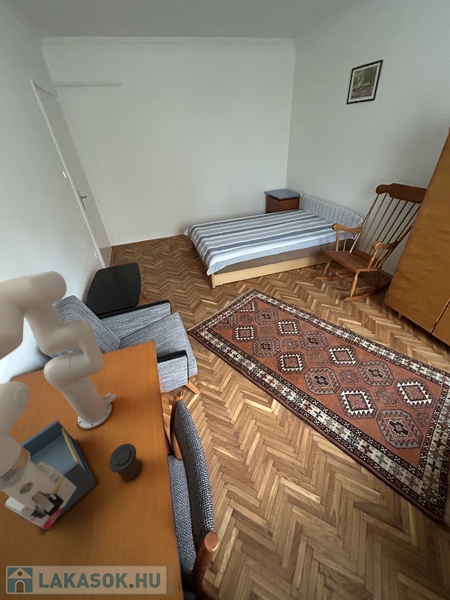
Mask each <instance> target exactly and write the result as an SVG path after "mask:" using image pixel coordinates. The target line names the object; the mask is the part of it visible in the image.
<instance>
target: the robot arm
mask: <svg viewBox="0 0 450 600" xmlns="http://www.w3.org/2000/svg"><path fill="white" fill-rule="evenodd" d="M67 289H68V287H67V282H66V280H65V278H64V276H62V275H61V274H60V272H57V271H54V270H48V271H43V272H39V273H34V274H29V275H24V276H18V277H13V278H9V279H6V280H3V281H1V282H0V361H1V360H3V359H4V358H6V357H7V356H8V355H10V354H12V352H14V351H16V350H17V349H18V348H19V347H20V346H21V345H22V343H23V342H24V341H23V340H24V325H25V322H24V321H25V320H26V322H27V324H28V325H29V328H30V330H31V333H32V335H33V337H34V339H35V341H36V344H37V346H38V348H39V350H40V352H41V353H43V354H44V355H46V356H53V355H57V354H61V353H64V354H61V355H59V356H56V357H53V358H52V359H50V360H49V361H47V362H46V364H45V365H44V368H43V376H44V378H45V380H46V381H47V382H48V383H49V384H50V385H51V386H53V387H54V388H55V389H57V390H58V391H59V392H60V393H61V394H62V396H63V397H64V398H65V400H66V401H67V402H68V404H69V405H70V406H71V408H72V409H73V410H74V411H75V413H76V414H77V424H78V426H79V427H80V428H81V429H84V430H90V429H94V428H96V427H98V426H100V425H101V424H103V423H104V422H105V421H106V420H107V419H108V418H109V416H110V414H111V412H112V409H113V406H112V402H114V401H115V400H116V399H118V396H117V394H116V393H114V394H112V393H111V392H109V393H108V394H106V395H104V396H103V395H102V394H101V392H100V391H99V389H98V388H97V387H96V385H95V383H94V381H93V380H92V378H91V377H90V376H94V375H96V374H99V373H100V372H102V371H103V370H104V368H105V359H104V356H103V353H102V350H101V348H100V345H99V343H98V339H97V337H96V334H95V331H94V329H93V327H92V325H91V323H90V322H89V321H88V320H87V319H84V318H77V319H72V320H69V321H64V320H63V319H62V316H61V315H60V312H59V309H58V308H57V307H56V306H55V305H54V304H56V303H57V302H59V301H60V300H61V299H63V298H64V297H65V296H66V294H67ZM76 349H78V350H76ZM72 350H75V351H72ZM68 351H72V352H68ZM65 352H68V353H65ZM29 400H30V390H29V387H28V386H27V385H26V384H25V383H24V382H21V381H15V380H14V381H7V382H3V383H0V492H2V493H5V494H6V495H7V496H8V497H12V498H13V499H15V500H16V501H18V502H19V503H21V504H23V505H24V506H26V507H28V508H30V509H32V510H33V509H37V507H39V508H40V509H41V511H43V512H44V513H46V514H47V515H49V516H52V515H53V514H54V513H55V512H56V511H57V510H58V509H59V508H60V506H61V505H62V504H63V502H64V500H63V499H62V498H60V497H59V496H58V495H57V494H52V492H53V490H54V489H55V487H56V485H55V484H54V482H53V481H52V480H51V479H50V478H49V477H48V476H47V475H46V474H45V473H44V472H43V471H42V470H41V469H40V468H39V467H38V466H37V465H36V464H35V463H34V462H32V461H31V460H30V453H29V451H28V450H26V449H25V448H24V447H23V446H22V445H21V444H22V443H19V442H18V440H16V439H15V438H14V437H13V436H11V435H10V432H11V431H12V429H13V427H14V426H15V425H16V423H17V422H18V420H20V417H21V416H22V415H23V413H24V411H25V410H26V408H27V406H28V403H29ZM47 495H49V496H50V498H49V499H47V498H46V496H47Z"/></svg>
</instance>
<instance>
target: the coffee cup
mask: <svg viewBox="0 0 450 600" xmlns="http://www.w3.org/2000/svg"><path fill="white" fill-rule="evenodd" d="M140 467H141V466H140V463H139V460H138V456H137V448H136V447H135V446H134V444H132V443H123V444H120V445H119V446H117V447H116V448H115V449H114V450H113V451H112V453H111V455H110V457H109V461H108V468H109V469H110V471H111V472H113V473H116V474H118V475H119V476H121V477H122V478H123V479H124V480H130V481H131V480H132V479H134V478H136V477H137V476H138V474H139V472H140Z"/></svg>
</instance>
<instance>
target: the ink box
mask: <svg viewBox="0 0 450 600" xmlns="http://www.w3.org/2000/svg"><path fill="white" fill-rule="evenodd" d="M37 466H38V467H39V468H40V469H41V470H42V471H43V472H44V473H45V474H46V475H47V476H48V477H49V478H50V479H51V480H52V481H53V482H54V484H55V485H56V487H55V489H54V490H53V492H52V494H57V495H58V496H59V497H60V498H62V499H63V500H64V502H63V504H62V505H61V506H60V508H59V509H58V510H57V511H56V512H55V513H54V514H53V515H52V516H49V515H47V514H46V513H44V512H43V511H41V509H40V508H39V507H37V509H33V510H32V509H30V508H28V507H26V506H24V505H23V504H21V503H19V502H18V501H16V500H15V499H13V498H12V497H10V496H8V499H7V500H6V501H5V503H4V506H5V507H6V508H7V509H9V510H11V511H12V512H14V513H15V512H16V513H17V514H19V515H20V516H22V517H24V518H25V519H27V520H29V521H30V522H32V523H33V524H32V523H31V524H32V525H34V524H35V525H37V526H39V527H41V528H44V529H45V530H46V531H47V530H48V531H50V529H51V527H52V526H53V525H54V523H55V521H57V519H56V518H57V517H58V515H59V514H60V512H61V511H62V509H63V508H64V506H65V505H66V503H67V502H68V500H69V499H70V497H71V496H72V494H73V492H74V491H75V489H76V486H74V485H73V484H72V483H71V482H70V481H69V480H68V479H67V478H65V477H64V476H63V475H62V474H61V473H60V472H58V471H57V470H56V469H55V468H54V467H52V466H51V465H49V464H47V463H44V462H42V461H41V462H40V463H39V464H38V465H37ZM46 498H47V499H49V498H50V496H49V495H47V496H46ZM16 513H15V514H16ZM17 514H16V515H17ZM19 515H18V516H19ZM20 516H19V517H20ZM22 517H21V518H22ZM24 518H23V519H24ZM25 519H24V520H25ZM27 520H26V521H27ZM29 521H28V522H29ZM30 522H29V523H30ZM35 525H34V526H35ZM37 526H36V527H37ZM39 527H38V528H39Z"/></svg>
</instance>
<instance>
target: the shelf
mask: <svg viewBox="0 0 450 600" xmlns="http://www.w3.org/2000/svg"><path fill="white" fill-rule="evenodd" d="M20 444H21V445H22V446H23V447H24V448H25V449H26V450H28V451H29V453H30V460H31V461H32V462H34V463H35V464H36V465H38V464H39V463H40V462H41V461H42V462H44V463H47V464H49V465H51V466H52V467H54V468H55V469H56V470H57V471H58V472H60V473H61V474H62V475H63V476H64V477H65V478H67V479H68V480H69V481H70V482H71V483H72V484H73V485H74V486H76V489H75V491H74V492H73V494H72V496H71V497H70V499H69V500H68V502H67V503H66V505H65V506H64V508H63V509H62V511H61V512H60V514H59V515H58V517H57V518H56V520H58V519H59V518H60V517H61V516H62V515H63V514H65V513H66V512H67V511H68V510H69V509H70V508H72V506H73V505H75V503H77V502H78V501H79V500H80V499H82V498H83V496H85V495H86V494H87V493H88V492H89V491H90V490H91V489H92V488H93V487H95V486H96V485H97V482H96V480H95V478H94V475H93V473H92V471H91V469H90V467H89V465H88V463H87V461H86V459H85V457H84V455H83V453H82V451H81V449H80V447H79V445H78V443H77V441H76V439H75V438H74V437H73V436H72V435H71V433H69V431H68V430H67V429H66V427H65V426H64V425H63V424H62V423H61V422H60V420H59V419H56V420H54V421H53V422H52V423H50V424H49V425H47V426H45V427H44V428H42V429H41V430H40V431H38V432H36V433H35V434H34V435H32V436H31V437H29V438H28V439H26V440H25V441H23V442H22V443H20ZM14 513H15V515H17V516H19V517H21V518H22V519H23V520H25V521H27V522H29V523H30V524H32V525H33V526H35V527H37V528H38V529H40V530H42V531H45V530H46V529H44V528H41V527H39V526H37V525H35V524H33V523H32V522H30V521H29V520H27V519H25V518H24V517H22V516H20V515H19V514H17V513H16V512H14Z"/></svg>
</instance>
